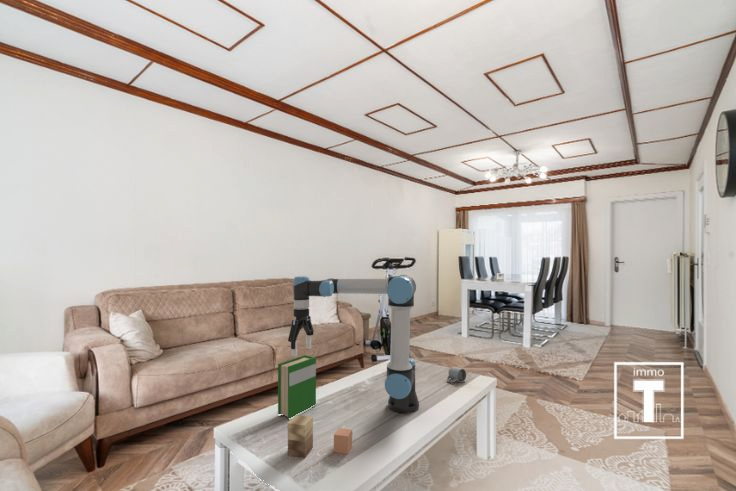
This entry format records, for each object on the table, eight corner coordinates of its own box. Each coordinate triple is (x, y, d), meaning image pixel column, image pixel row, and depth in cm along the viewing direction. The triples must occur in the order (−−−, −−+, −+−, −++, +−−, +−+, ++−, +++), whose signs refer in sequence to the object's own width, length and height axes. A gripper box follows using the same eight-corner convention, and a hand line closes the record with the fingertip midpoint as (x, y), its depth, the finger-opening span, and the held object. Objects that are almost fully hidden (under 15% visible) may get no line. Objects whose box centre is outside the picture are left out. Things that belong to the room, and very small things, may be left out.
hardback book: (289, 420, 162) (289, 366, 163) (277, 416, 166) (278, 363, 167) (315, 406, 177) (315, 357, 177) (304, 403, 181) (304, 355, 182)
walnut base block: (312, 448, 139) (312, 432, 139) (305, 458, 132) (305, 441, 132) (296, 446, 141) (296, 430, 141) (287, 455, 134) (287, 439, 134)
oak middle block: (312, 432, 139) (312, 417, 139) (304, 441, 132) (304, 425, 132) (296, 430, 141) (296, 414, 141) (287, 439, 134) (287, 423, 134)
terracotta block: (352, 446, 140) (352, 429, 140) (347, 454, 135) (347, 436, 135) (338, 444, 142) (338, 427, 142) (334, 452, 136) (333, 434, 136)
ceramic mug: (455, 377, 218) (455, 364, 218) (466, 380, 212) (466, 367, 212) (443, 381, 212) (443, 367, 212) (454, 385, 206) (454, 371, 206)
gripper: (307, 304, 189) (307, 345, 188) (280, 311, 165) (280, 358, 165) (320, 305, 186) (320, 346, 186) (294, 312, 163) (294, 359, 162)
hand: (301, 352), depth 175 cm, fingers open, 13 cm apart
